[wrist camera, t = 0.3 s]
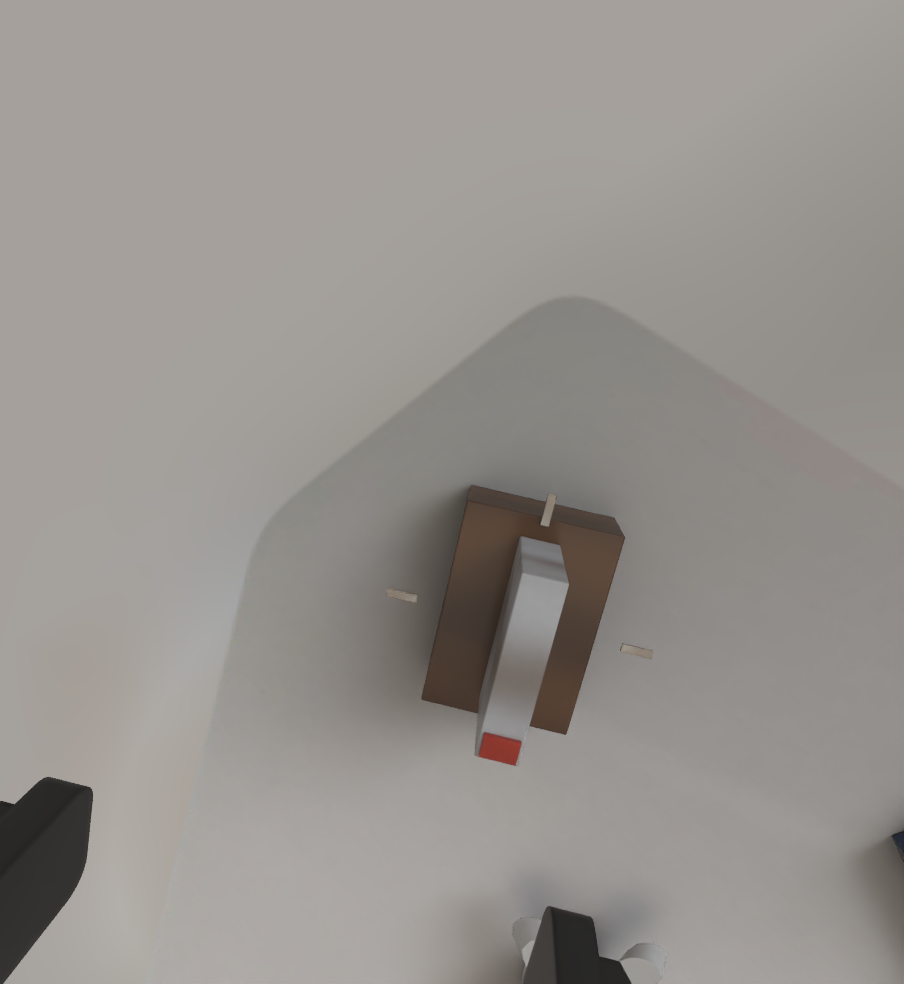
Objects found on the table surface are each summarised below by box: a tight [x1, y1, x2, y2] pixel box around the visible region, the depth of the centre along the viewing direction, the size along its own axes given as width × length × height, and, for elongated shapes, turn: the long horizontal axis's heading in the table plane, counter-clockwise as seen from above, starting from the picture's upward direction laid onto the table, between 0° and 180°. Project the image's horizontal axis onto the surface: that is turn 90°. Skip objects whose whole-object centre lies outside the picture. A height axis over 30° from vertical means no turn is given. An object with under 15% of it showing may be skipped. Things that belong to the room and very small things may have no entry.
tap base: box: [386, 485, 653, 735], centre depth 31 cm, size 12×12×3 cm
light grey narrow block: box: [475, 536, 569, 766], centre depth 28 cm, size 8×2×5 cm, turn 168°
